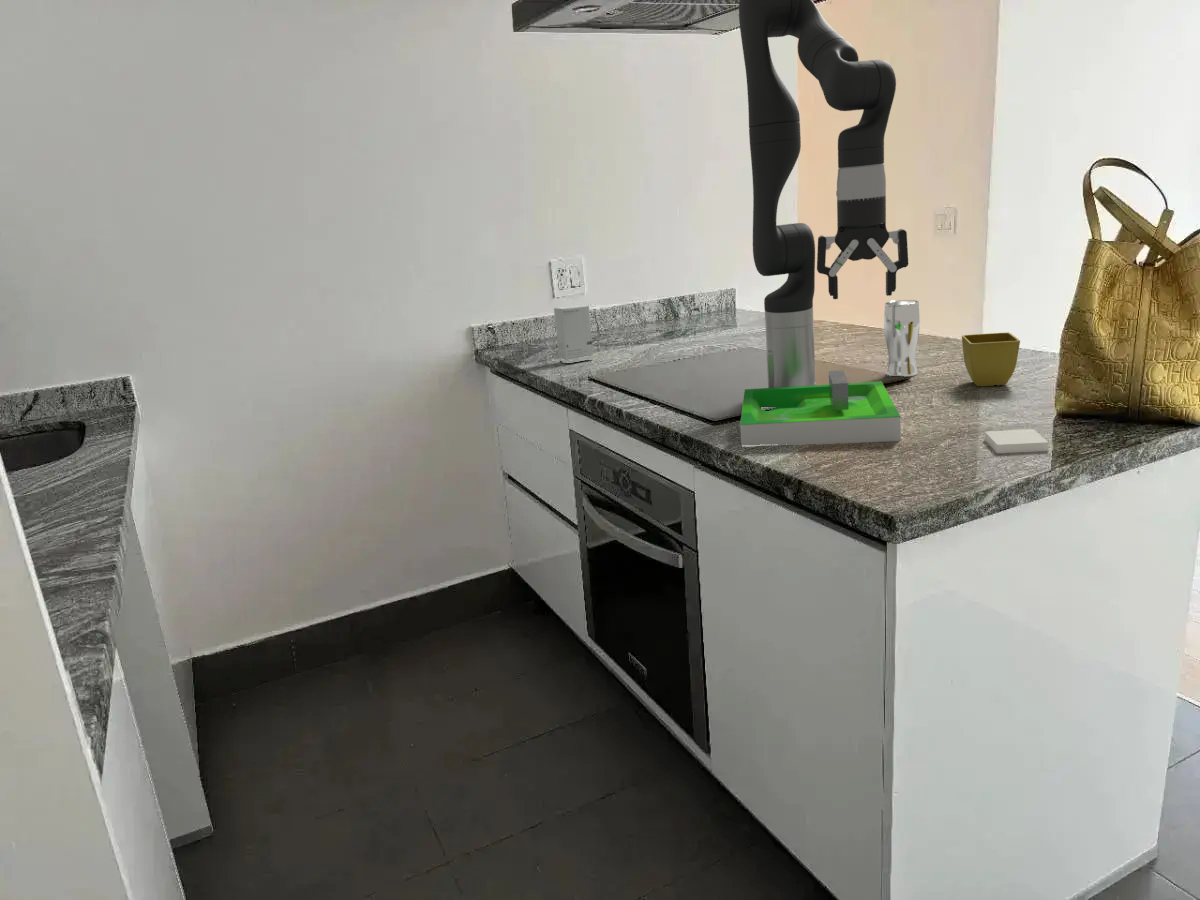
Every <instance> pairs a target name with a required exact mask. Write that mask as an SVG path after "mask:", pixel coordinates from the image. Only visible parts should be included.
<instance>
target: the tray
mask: <svg viewBox="0 0 1200 900" xmlns="http://www.w3.org/2000/svg"><path fill="white" fill-rule="evenodd" d="M761 407H776V408H774V409H771V410H769V411H765V410H761ZM741 409H742V410H741V417H740V421H739V423H740V424H739V427H740V429H739V430H740V443H741V445H760V444H771V445H772V444H778V445H786V444H787V445H793V446H806V445H805V444H816V445H835V443H836V445H837V443H840V444H859V443H860V444H861V443H880V442H881V443H882V442H884V443H886V442H901V415H900V413H899V411H898V409H897V408H896V405H895V403H894V402H893V399H892V398H891V396H890V394H889V392H888V391H887V389H886V387H885V385H884V383H883V381H881V380H880V381H868V382H867V381H866V382H864V381H863V382H852V383H851V382H850V383H849V382H848V410H833V409H832V405H831V401H830V397H829V384H816V385H812V386H795V387H777V388H768V387H763V388H746V389H744V393H743V400H742V408H741ZM833 443H834V444H833ZM800 444H801V445H800ZM741 445H740V446H741Z"/></svg>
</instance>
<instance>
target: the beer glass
mask: <svg viewBox="0 0 1200 900" xmlns="http://www.w3.org/2000/svg"><path fill="white" fill-rule="evenodd" d="M920 314H921V313H920V305H919V300H917V299H916V300H914V299H899V300H891V301H887V302H885V303H884V315H883V331H884V336H885V337H884V338H885V344H886V348H887V353H888V363H887V364H888V365H887V369H886V375H887V376H888V375H889V376H888V377H891V376H904V377H903V378H910V377H914V376H916V375H918V366H917V362H916V361H917V360H916V355H917V354H916V353H917V345H918V341H919V337H920V324H921V319H920V317H921V316H920Z"/></svg>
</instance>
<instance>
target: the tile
mask: <svg viewBox="0 0 1200 900" xmlns="http://www.w3.org/2000/svg"><path fill="white" fill-rule="evenodd" d="M984 441H985V443H987V444H988V446H990V448H991V449H993V450H994V452H995V453H996V454H1011V453H1030V452H1031V453H1035V452H1049V446H1050V443H1049V441H1048V440H1047V439H1046V438H1044V437H1043V436H1042V435H1041V434H1040V433H1038V432H1037V431H1036V430H1035V429H1034V428H1030V429H1027V428H1026V429H1011V430H1010V429H1008V430H991V431H989V430H988V431H984Z"/></svg>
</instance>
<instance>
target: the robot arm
mask: <svg viewBox="0 0 1200 900" xmlns="http://www.w3.org/2000/svg"><path fill="white" fill-rule="evenodd" d="M738 23H739V31H740V38H741V39H740V40H741V45H742V52H743V54H742V55H743V61H744V66H745V73H746V74H745V77H746V88H747V89H746V91H747V105H748V132H749V133H748V135H749V147H750V148H749V149H750V159H751V161H750V162H751V172H752V173H751V174H752V175H751V176H752V191H753V192H752V194H753V195H752V197H753V198H752V199H753V200H752V202H753V203H752V205H753V206H752V207H753V208H752V209H753V210H752V256H753V261H754V266H755V268H756V270H757V272H758V273H759V274H760V275H761V276H763V277H771V276H781V275H787V274H788V275H787V279H786V281H785V282H784V283H783V284H782V285H781V286H779V287H777V289H775V290H774V291H772V292H770V293H768V294H767V295H766V296H765V297H764V299H763V300H764V301H763V302H764V303H763V304H764V305H763V307H764V317H765V318H764V320H765V321H764V322H765V323H764V326H765V345H766V346H765V347H766V366H767V367H766V369H767V370H766V371H767V388H777V387H795V386H812V385H817V384H816V383H817V382H816V363H815V362H816V361H815V360H816V359H815V356H816V355H815V333H814V332H815V330H814V329H815V328H814V296H815V289H816V288H815V285H816V284H815V283H816V281H815V279H816V274H815V272H816V271H817V272H818V274H822V275H825V276H826V277H827V278H828V282H827V283H828V294H829V296H830V297H832V299H833V300H838V299H839V291H838V290H839V285H838V282H839V281H838V280H839V279H838V275H837V274H838V273H839V271H840V270H841V268H842V267H843V266H844V265H845V263H846V262H847V261H848V260H849V261H852V262H855V261H856V262H857V261H860V260H868V261H869V260H873V259H874V258H876V257H877V258H878V259H879V261H880V262H881V263H882V264H883V266H884V267H885V268H886V271H885V295H886V296H887V297H890V296H892V294H893V293H894V292H895V291H896V289H897V272H898V271H899V270H900V269H903V268H906V267H908V266H909V249H908V248H909V247H908V233H907V231H906V230H905V229H903V228H899V229H897V230H892V231H888V229H887V225H886V224H887V221H886V220H887V212H886V211H887V206H886V205H887V195H886V194H887V193H886V191H887V183H886V182H887V181H886V179H887V178H886V172H885V164H884V163H885V134H886V130H887V126H888V122H889V117H890V113H891V109H892V106H893V102H894V99H895V95H896V89H897V79H896V73H895V71H894V68H893V67H892V65H891V64H890V63H889V62H888V61H886V60H884V59H872V60H871V59H869V60H859V55H858V52H857V50H856V48H855V47H854V46H853V45H852V44H851V42H850V41H848V40H847V39H846V38H844V37H843V36H842V35H841V34H840V33H839V32H838V31H836V30H835V29H834V28H833V27H832V26H831V25H830V24H829V23H828V22H827V20H826V19H825V17H824V16H823V15H822V13H821V11H820V10H819V8H818V7H817V5H816V3H815V2H814V1H813V0H739V3H738ZM785 36H792V37H795V38H797V39H798V42H797V54H798V55H797V56H798V58H799V60H800V62H801V64H802V66H803V67H804V68H805V69H806V70H807V72H809V73H810V74H811V75H812V76H813V77H814V79H816V80H817V81H818V82H819V86H820V88H821V90H822V94H823V95H824V99H825V101H826V103H827V105H828V106H830V108H833V109H834V110H837V111H839V112H850V111H851V112H852V111H861V110H862V114H861V118H860V120H859V121H858V124H856V125H853V126H850V127H847V128H845V129H843V130H841V131H840V133H839V134H838V138H837V166H838V167H837V168H838V169H837V179H836V207H837V208H836V209H837V210H836V215H837V217H836V218H837V222H836V223H837V231H836V234H835V235H834V236H825V235H822V234H821V235H819V236H818V238H817V251H816V244H815V236H814V233H813V231H812V229H811V227H810V226H809V225H808V224H806V223H805V222H797V223H796V222H795V223H786V224H778V225H777V216H778V215H777V214H778V206H779V201H780V197H781V194H782V192H783V189H784V187H785V185H786V182H787V181H788V179H789V178H790V176H791V173H792V171H793V169H794V168H795V165H796V163H797V161H798V158H799V156H800V153H801V147H802V144H801V142H802V141H801V140H802V139H801V121H800V120H801V119H800V111H799V109H798V106H797V103H796V101H795V99H794V98H793V96H792V95H791V93H790V91H789V90H788V88H787V87H786V85H785V84H784V81H782V79H781V77H780V76H779V75H778V73H777V69H776V68H775V66H774V63H773V61H772V56H771V51H770V46H769V38H780V37H781V38H783V37H785ZM889 239H891V240H892V242H893V243H894V244H895V245H897V257H898V260H896V261H894V262H893V260H892V259H891V258H890V256H889V255H888V254H887V253H886V252H885V251H884V250H883V247H884V246H885V245H886V244H887V242H888V241H889ZM833 244H835V245H836V246H837V247H838V248H839V250H840V252H839V253H838V254H837V257H836V258H835V259H834V261H833V263H832V264H831V266H828V265H827V266H826V255H827V251H828V250H830V249H831V248H832V245H833ZM816 252H817V255H816ZM816 260H817V261H816ZM815 269H816V270H815Z"/></svg>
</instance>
